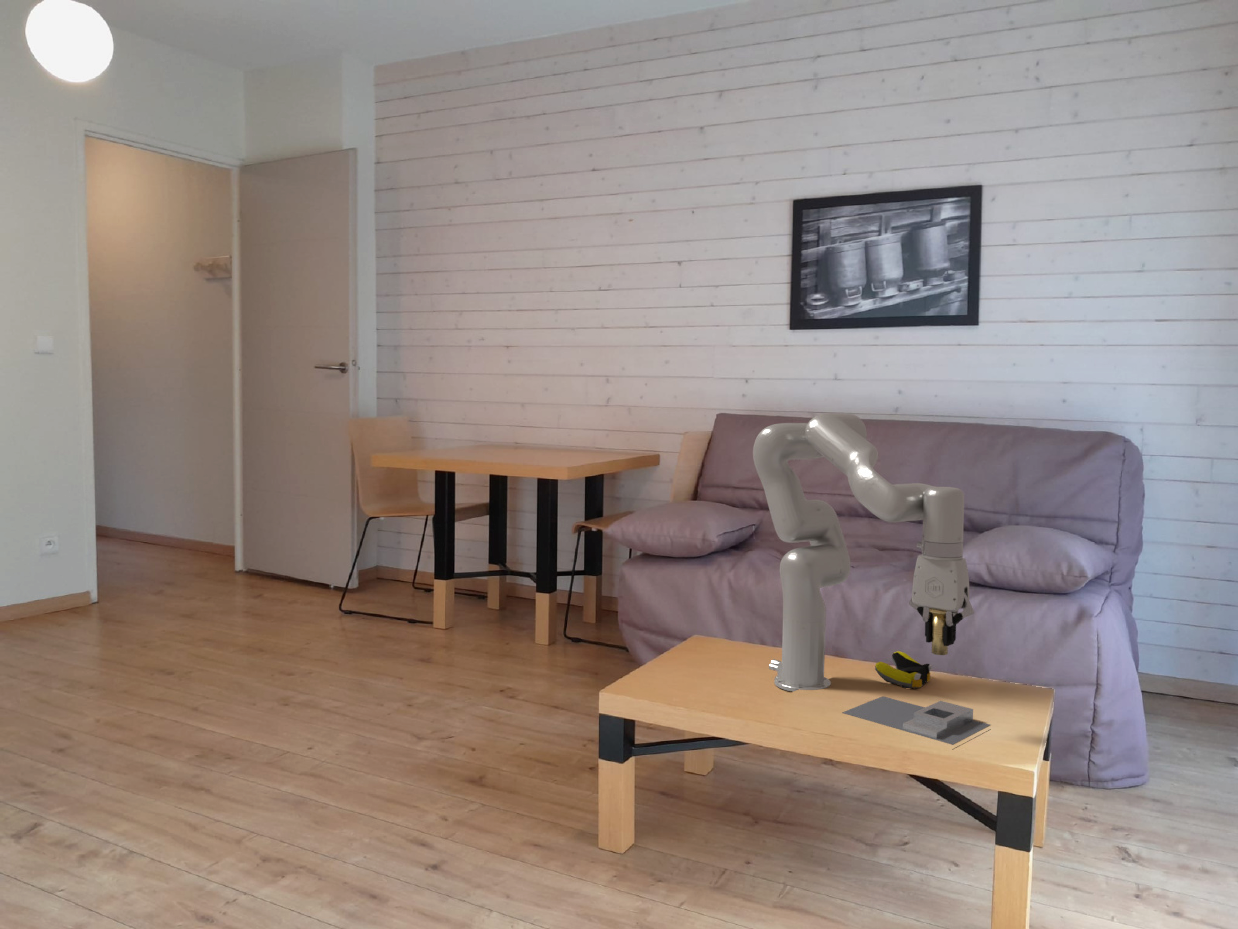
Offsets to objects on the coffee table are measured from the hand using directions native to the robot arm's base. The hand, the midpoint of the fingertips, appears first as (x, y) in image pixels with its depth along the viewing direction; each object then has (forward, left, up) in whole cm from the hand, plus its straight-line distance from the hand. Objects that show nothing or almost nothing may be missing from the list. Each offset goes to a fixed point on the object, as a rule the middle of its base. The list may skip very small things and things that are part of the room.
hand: (940, 642), depth 186 cm
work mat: (-5, 0, -18) cm, 18 cm away
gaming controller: (-21, +25, -18) cm, 37 cm away
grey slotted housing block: (0, 0, -17) cm, 17 cm away
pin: (0, 0, -2) cm, 2 cm away
